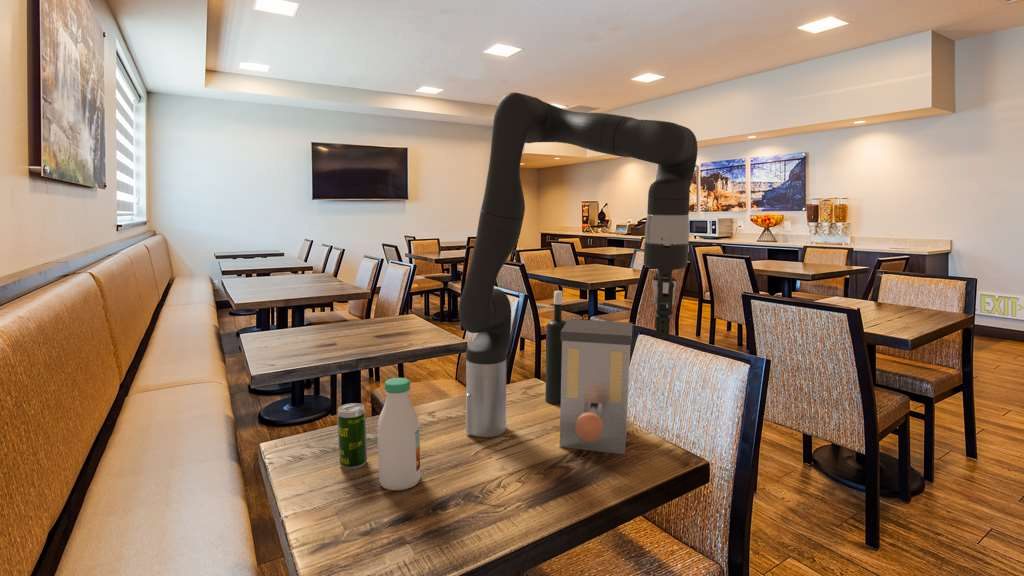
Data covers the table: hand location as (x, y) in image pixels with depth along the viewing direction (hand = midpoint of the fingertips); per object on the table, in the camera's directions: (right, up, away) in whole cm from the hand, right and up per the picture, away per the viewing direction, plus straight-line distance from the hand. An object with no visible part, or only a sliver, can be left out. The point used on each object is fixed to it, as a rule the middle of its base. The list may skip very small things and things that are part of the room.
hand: (661, 332), depth 98 cm
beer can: (-59, -28, +12) cm, 67 cm away
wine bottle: (-15, -23, +48) cm, 55 cm away
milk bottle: (-49, -29, +5) cm, 57 cm away
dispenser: (-9, -26, +24) cm, 37 cm away
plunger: (-11, -21, +15) cm, 28 cm away
